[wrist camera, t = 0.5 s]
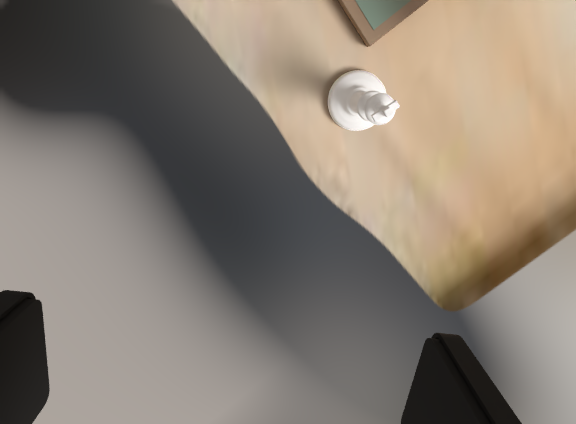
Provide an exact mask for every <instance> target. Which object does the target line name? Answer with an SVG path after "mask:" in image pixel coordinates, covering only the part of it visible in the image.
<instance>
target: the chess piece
mask: <svg viewBox="0 0 576 424" xmlns="http://www.w3.org/2000/svg"><path fill="white" fill-rule="evenodd" d="M399 107H400V106H399V104H398V102H397V101H396V100H393V98H392V97H391V96H389V95H388V94H386V90H385V87H384V85H383V83H382V82H381V80H380V79H379V78H378V77H376V76H375V75H374V74H372V73H370V72H368V71H365V70H353V71H349V72H347V73H345V74H343V75H341V76H340V77H339V78H338V79H337V80H336V81H335V82H334V84H333V85H332V87H331V89H330V91H329V95H328V109H329V113H330V115H331V117H332V119H333V120H334V121H335V122H336V123H337V124H338V125H339V126H340V127H342V128H344V129H347V130H351V131H360V130H365V129H367V128H370V127H371V126H373V125H374V124H375V125H383V124H386V123H387V122H389V121H390V120H391V119H392V118H393V116H394V114H395V110H396V109H397V108H399Z"/></svg>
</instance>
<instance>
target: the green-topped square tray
mask: <svg viewBox="0 0 576 424" xmlns="http://www.w3.org/2000/svg"><path fill="white" fill-rule="evenodd" d="M427 1H428V0H338V2H339V3H340V5H341V6H342V8H343V10H344V11H345V13H346V14H347V16H348V17H349V19H350V21H351V22H352V24H353V25H354V27H355V29H356V30H357V32H358V33H359V35H360V36H361V38H362V40H363V41H364V43H365V44H366V46H367V47H368V46H371V45H372V44H374V43H375V42H376V41H377V40H379V39H380V38H381V37H382V36H384V35H385V34H386V33H388V32H389V31H390V30H391V29H393V28H394V27H395V26H397V25H398V24H399V23H400V22H402V21H403V20H404V19H405V18H407V17H408V16H409V15H411V14H412V13H413V12H414V11H416V10H417V9H418V8H419V7H421V6H422V5H423V4H425V3H426V2H427Z"/></svg>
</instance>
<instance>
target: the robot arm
mask: <svg viewBox="0 0 576 424" xmlns="http://www.w3.org/2000/svg"><path fill="white" fill-rule="evenodd" d="M48 396H49V378H48V366H47V356H46V345H45V333H44V322H43V312H42V304H41V302H40V300H36V299H35V296H34V295H33V294H32V293H30V292H19V291H9V290H5V291H2V292H0V424H32V423H33V421H34V420H35V419H36V417H37V415H38V414H39V413H40V411H41V410H42V408H43V407H44V405H45V404H46V401H47V399H48ZM401 424H522V423H521V422H520V421H519V419H518V418H517V416H516V415H515V414H514V412H513V410H512V409H511V408H510V406H509V405H508V403H507V402H506V401H505V399H504V398H503V396H502V395H501V393H500V392H499V390H498V389H497V387H496V386H495V385H494V383H493V382H492V380H491V379H490V377H489V376H488V375H487V373H486V372H485V370H484V369H483V367H482V366H481V364H480V363H479V362H478V360H477V359H476V357H475V356H474V355H473V353H472V352H471V350H470V349H469V347H468V346H467V344H466V343H465V341H464V340H463V339H462V338H461V337H460V336H459V335H453V334H443V333H435V334H434V335H433V336H432V338H427V339H426V341H425V343H424V346H423V350H422V353H421V356H420V359H419V363H418V366H417V369H416V372H415V376H414V380H413V382H412V386H411V389H410V392H409V395H408V399H407V402H406V406H405V409H404V412H403V415H402V419H401Z"/></svg>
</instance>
